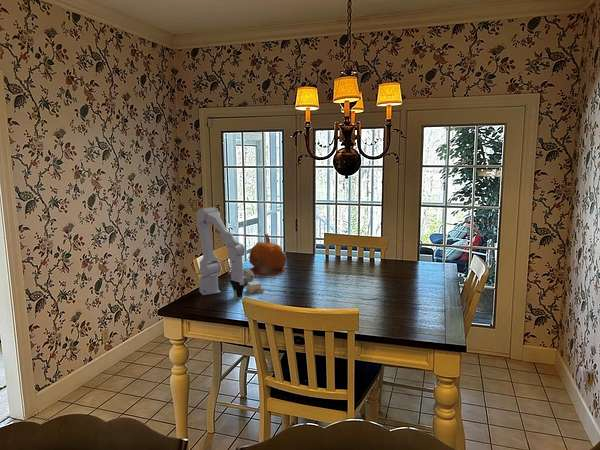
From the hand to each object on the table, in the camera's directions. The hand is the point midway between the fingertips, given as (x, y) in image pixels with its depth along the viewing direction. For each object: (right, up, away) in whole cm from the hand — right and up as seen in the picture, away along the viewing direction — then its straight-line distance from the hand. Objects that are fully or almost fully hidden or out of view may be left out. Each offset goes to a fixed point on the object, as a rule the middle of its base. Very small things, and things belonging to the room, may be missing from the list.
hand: (238, 295), depth 219 cm
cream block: (+7, +2, +11) cm, 13 cm away
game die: (+2, +2, +26) cm, 26 cm away
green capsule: (0, -1, 0) cm, 1 cm away
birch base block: (+7, 0, +11) cm, 13 cm away
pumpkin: (+11, +7, +53) cm, 54 cm away
